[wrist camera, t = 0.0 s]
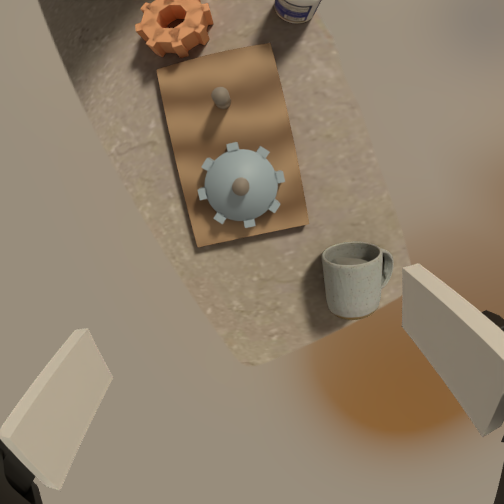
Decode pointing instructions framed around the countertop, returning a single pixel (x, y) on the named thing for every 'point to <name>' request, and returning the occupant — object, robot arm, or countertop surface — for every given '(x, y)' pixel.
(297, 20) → the pill bottle
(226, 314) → the countertop surface
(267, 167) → the slate gear
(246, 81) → the walnut board
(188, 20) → the terracotta gear
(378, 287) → the ceramic mug
